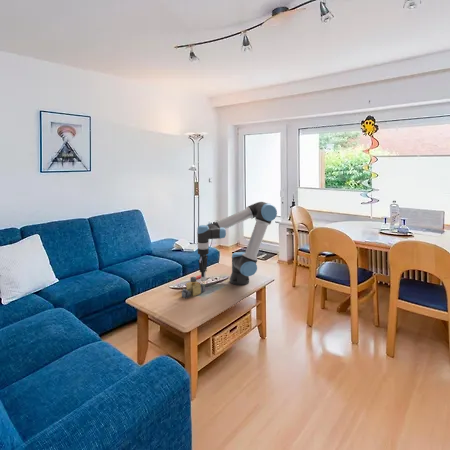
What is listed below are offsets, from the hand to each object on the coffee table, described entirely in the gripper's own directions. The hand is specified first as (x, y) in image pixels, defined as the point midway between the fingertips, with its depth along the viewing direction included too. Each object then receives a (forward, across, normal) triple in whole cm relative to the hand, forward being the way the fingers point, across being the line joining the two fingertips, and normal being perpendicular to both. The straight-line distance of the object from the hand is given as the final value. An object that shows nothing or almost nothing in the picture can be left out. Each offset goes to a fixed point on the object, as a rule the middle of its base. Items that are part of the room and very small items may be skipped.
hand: (203, 280), depth 221 cm
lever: (0, -2, -5) cm, 5 cm away
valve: (+10, +2, -7) cm, 12 cm away
